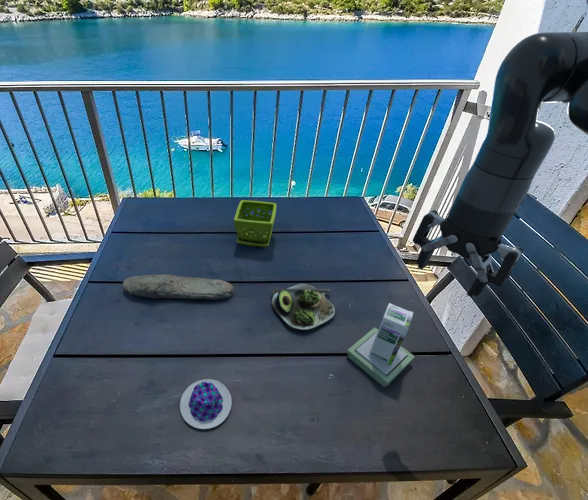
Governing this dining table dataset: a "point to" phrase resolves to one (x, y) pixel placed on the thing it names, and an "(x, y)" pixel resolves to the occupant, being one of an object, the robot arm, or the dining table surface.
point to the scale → (370, 368)
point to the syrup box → (391, 333)
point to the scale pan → (378, 364)
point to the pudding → (205, 404)
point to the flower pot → (254, 223)
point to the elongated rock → (177, 287)
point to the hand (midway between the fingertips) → (445, 280)
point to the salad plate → (302, 306)
